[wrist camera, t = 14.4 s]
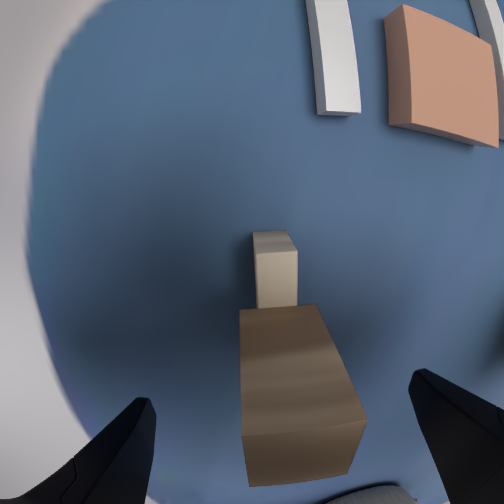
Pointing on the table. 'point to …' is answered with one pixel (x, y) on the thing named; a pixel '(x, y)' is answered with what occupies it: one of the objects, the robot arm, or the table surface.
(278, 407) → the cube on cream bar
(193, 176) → the table surface
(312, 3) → the corral
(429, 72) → the tile
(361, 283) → the table surface
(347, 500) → the canister
